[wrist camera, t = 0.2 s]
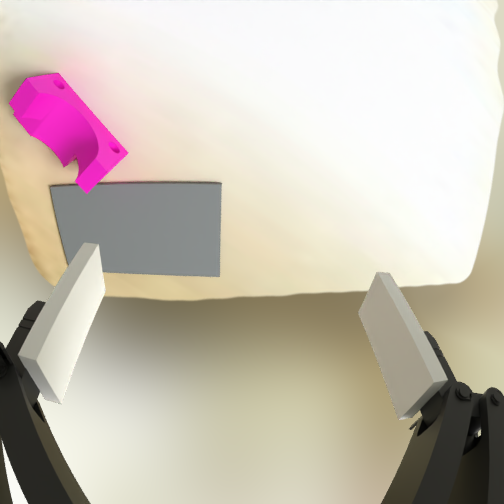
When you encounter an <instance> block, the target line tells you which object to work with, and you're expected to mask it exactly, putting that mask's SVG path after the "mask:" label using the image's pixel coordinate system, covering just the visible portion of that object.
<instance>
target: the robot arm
mask: <svg viewBox="0 0 504 504" xmlns="http://www.w3.org/2000/svg"><path fill="white" fill-rule="evenodd" d="M105 291H106V290H105V284H104V278H103V272H102V265H101V258H100V250H99V244H93V243H83V245H82V246H81V248H80V249H79V251H78V252H77V254H76V255H75V257H74V258H73V260H72V261H71V263H70V264H69V266H68V267H67V269H66V270H65V272H64V274H63V275H62V277H61V278H60V280H59V282H58V283H57V285H56V286H55V288H54V290H53V291H52V293H51V295H50V296H49V298H48V300H47V302H42V301H36V302H35V303H34V304H33V305H32V306H31V307H30V308H28V310H27V311H26V313H25V315H24V317H23V320H21V322H20V323H19V327H18V328H17V329H16V331H15V332H14V334H13V336H12V338H11V340H10V342H9V344H8V345H7V347H6V349H5V347H4V345H3V344H2V343H1V342H0V504H13V502H12V498H11V493H10V489H9V484H8V479H7V474H6V468H5V462H4V455H3V448H2V441H3V444H4V447H5V450H6V453H7V456H8V458H9V461H10V463H11V466H12V468H13V471H14V473H15V476H16V478H17V480H18V483H19V485H20V487H21V489H22V492H23V494H24V496H25V498H26V500H27V502H28V504H90V502H89V501H88V499H87V497H86V496H85V495H84V493H83V491H82V489H81V488H80V486H79V484H78V482H77V481H76V479H75V478H74V476H73V474H72V472H71V470H70V468H69V466H68V464H67V463H66V461H65V459H64V457H63V455H62V453H61V451H60V449H59V447H58V445H57V443H56V441H55V438H54V436H53V434H52V432H51V430H50V427H49V425H48V423H47V421H46V419H45V416H44V414H43V411H42V408H41V406H40V403H39V402H38V400H37V398H38V395H39V393H41V394H42V396H43V397H44V399H45V400H48V401H52V402H55V403H58V404H62V402H63V399H64V396H65V393H66V390H67V387H68V384H69V381H70V378H71V376H72V373H73V370H74V367H75V365H76V362H77V359H78V356H79V354H80V351H81V349H82V346H83V343H84V341H85V338H86V336H87V333H88V331H89V328H90V326H91V324H92V321H93V319H94V316H95V314H96V312H97V309H98V307H99V305H100V303H101V300H102V298H103V296H104V294H105ZM358 314H359V316H360V319H361V321H362V324H363V326H364V328H365V331H366V333H367V336H368V338H369V341H370V343H371V346H372V349H373V351H374V354H375V356H376V359H377V361H378V364H379V367H380V369H381V372H382V375H383V377H384V380H385V383H386V386H387V388H388V391H389V394H390V397H391V399H392V403H393V406H394V409H395V411H396V414H397V417H398V420H401V419H406V418H412V417H413V416H414V415H415V414H416V413H417V412H418V411H419V410H420V411H421V414H422V416H421V417H420V418H419V419H418V420H417V421H416V422H415V423H414V424H413V425H412V426H411V427H410V430H411V429H413V428H414V427H415V426H416V428H415V430H414V433H413V436H412V438H411V440H410V443H409V445H408V448H407V450H406V453H405V455H404V457H403V460H402V462H401V464H400V466H399V468H398V471H397V473H396V475H395V477H394V479H393V481H392V483H391V485H390V487H389V489H388V491H387V493H386V495H385V497H384V499H383V501H382V503H381V504H504V396H503V394H502V393H501V391H499V390H498V389H496V388H493V387H491V388H489V389H487V391H486V392H485V393H484V394H478V393H472V390H471V389H470V388H469V386H467V385H466V384H465V383H462V382H457V381H456V379H455V377H454V375H453V373H452V371H451V369H450V367H449V365H448V363H447V361H446V359H445V357H443V353H442V351H441V350H440V349H439V346H438V344H437V342H436V340H435V339H434V338H433V337H432V335H431V334H430V333H429V332H427V331H423V330H422V328H421V326H420V324H419V322H418V321H417V319H416V317H415V315H414V313H413V312H412V310H411V308H410V306H409V305H408V303H407V301H406V300H405V298H404V296H403V294H402V293H401V291H400V289H399V288H398V286H397V284H396V283H395V281H394V279H393V278H392V276H391V274H390V273H384V272H377V273H376V275H375V277H374V280H373V282H372V284H371V286H370V289H369V291H368V293H367V295H366V298H365V300H364V302H363V304H362V306H361V308H360V310H359V312H358ZM479 430H481V436H479V437H478V431H479ZM1 438H2V439H1Z"/></svg>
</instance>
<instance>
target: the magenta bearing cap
mask: <svg viewBox="0 0 504 504" xmlns="http://www.w3.org/2000/svg"><path fill="white" fill-rule="evenodd" d="M9 104H10V106H11V107H12V108H13V110H14V111H15V112H14V114H13V115H14V116H15V117H16V119H17V120H18V121H19V122H20V124H21V125H22V126H23V127H24V128H25V130H26V131H27V132H28V133H29V135H30V136H33V137H35V138H37V139H39V140H41V141H42V142H43V143H45V144H46V145H47V146H48V147H50V148H51V149H52V150H53V152H54V153H55V154H56V155H57V156H58V158H59V159H60V161H61V163H62V165H63V167H65V166H67V165H68V164H69V163H71V162H72V161H74V160H75V159H76V158H77V160H78V165H79V172H78V177H77V179H76V180H75V182H76V183H77V184H78V185H79V186H80V187H81V188H82V189H83V191H84V192H85V193H86V194H87V193H88V192H89V191H90V190H91V189H92V188H93V187H94V186H95V185H96V184H97V183H98V182H99V181H100V180H101V179H102V178H103V177H104V176H105V175H106V174H108V173H109V172H110V171H111V170H112V169H113V168H114V167H115V166H116V165H117V164H118V163H119V162H120V161H121V160H122V159H123V158H124V157H125V156H126V155H127V154H128V152H127V151H126V150H125V149H124V147H123V146H122V145H121V144H120V143H119V142H118V141H117V140H116V139H115V137H114V136H113V135H112V134H111V133H110V132H109V131H108V129H107V128H106V127H105V126H104V125H103V124H102V123H101V122H100V120H99V119H98V118H97V117H96V116H95V115H94V114H93V112H92V111H91V110H90V109H89V108H88V107H87V106H86V104H85V103H84V102H83V101H82V100H81V99H80V98H79V96H78V95H77V94H76V93H75V92H74V91H73V89H72V88H71V87H70V86H69V85H68V84H67V82H66V81H65V80H64V79H63V78H62V77H61V75H60V74H59V73H55V74H48V75H41V76H35V77H29V78H26V79H25V81H24V82H23V83H22V85H21V86H20V88H19V89H18V91H17V92H16V94H15V95H14V96H13V98H12V99H11V101H10V103H9Z"/></svg>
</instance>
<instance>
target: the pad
mask: <svg viewBox="0 0 504 504" xmlns="http://www.w3.org/2000/svg"><path fill="white" fill-rule="evenodd" d="M221 186H222V183H201V182H129V183H97V184H96V185H95V186H94V187H93V188H92V189H91V190H90V191H89V192H88V193H87V194H86V193H85V192H84V191H83V189H82V188H81V187H80V186H79V185H78V184H72V185H55V186H51V187H50V189H51V194H52V199H53V204H54V209H55V214H56V218H57V223H58V227H59V231H60V235H61V239H62V243H63V247H64V251H65V254H66V258H67V262H68V265H69V264H70V263H71V261H72V260H73V258H74V257H75V255H76V254H77V252H78V251H79V249H80V248H81V246H82V245H83V243H93V244H99V250H100V258H101V265H102V272H109V273H129V274H151V275H176V276H205V277H220V226H221Z"/></svg>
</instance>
